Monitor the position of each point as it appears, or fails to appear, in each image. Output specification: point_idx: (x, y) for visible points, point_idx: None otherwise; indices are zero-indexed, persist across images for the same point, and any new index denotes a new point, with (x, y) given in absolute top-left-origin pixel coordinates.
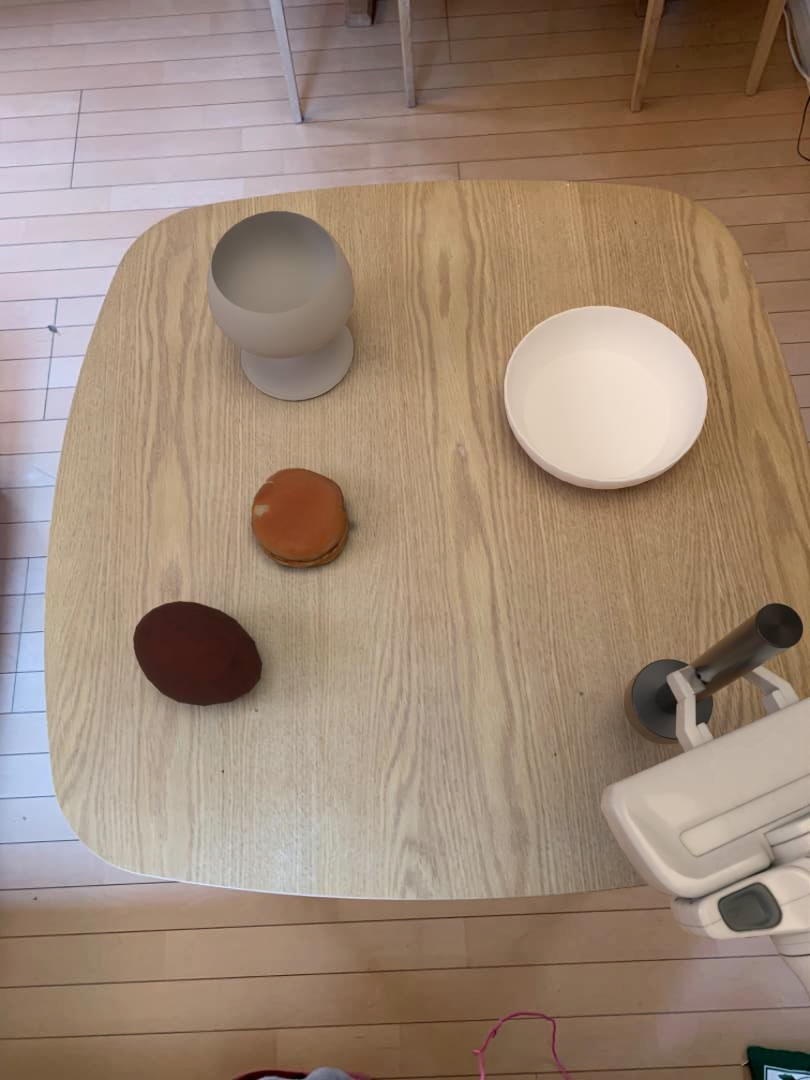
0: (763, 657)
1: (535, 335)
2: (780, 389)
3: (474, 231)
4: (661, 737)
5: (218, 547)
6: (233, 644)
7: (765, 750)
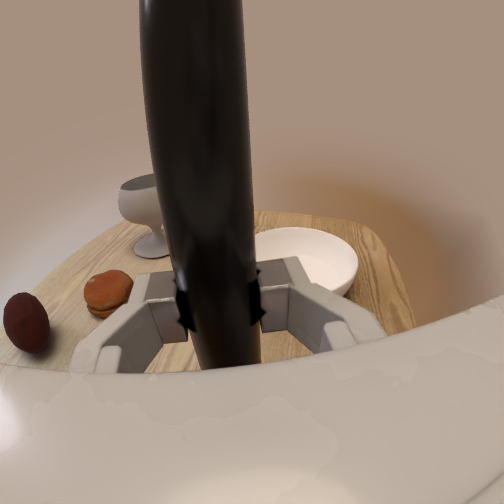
0: None
1: (266, 235)
2: (403, 284)
3: (260, 220)
4: None
5: (76, 301)
6: (28, 313)
7: (220, 451)
